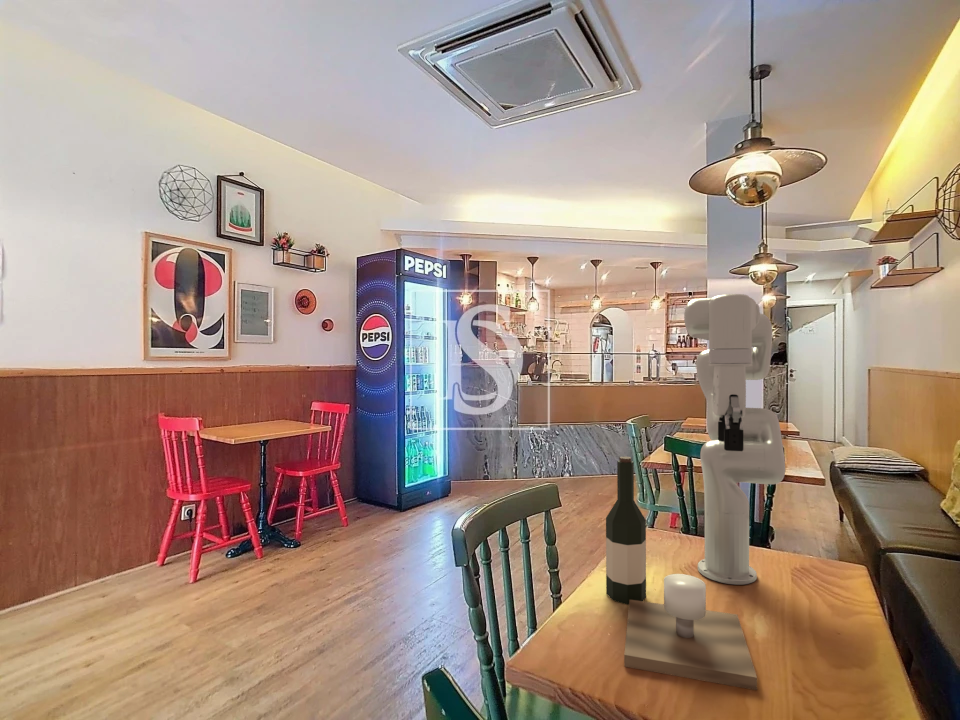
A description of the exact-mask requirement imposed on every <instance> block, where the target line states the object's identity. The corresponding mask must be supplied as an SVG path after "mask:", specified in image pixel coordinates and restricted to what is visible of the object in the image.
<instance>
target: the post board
mask: <svg viewBox="0 0 960 720" xmlns="http://www.w3.org/2000/svg"><path fill="white" fill-rule="evenodd" d="M626 623H627V624H626V632H625V633H626V634H625V643H624V654H623V655H624V657H623V658H624V659H623V662H624V663H623V665H624V666H623V667H626V668H629V669H630V668H632V669H637V670H641V671H642V670H643V671H646V672H647V671H648V672H653V673H660V674H665V675H669V676H674V677H681V678H685V679H686V678H687V679H693V680H696V681H697V680H698V681H704V682H709V683H714V684H720V685H726V686H732V687H738V688H743V689H747V690H748V689H749V690H754V691H757V690H758V677H757V672H756V669H755V667H754V663H753V661H752V657H751V654H750V650H749V647H748V644H747V641H746V638H745V635H744V631H743V629H742V628H743V627H742V624H741V621H740V618H739V615H738V614H736V613H731V612H730V613H729V612H722V611H714V610H708V609H706V615H705V616H704V617H703V618H701V619H698V620H686V619H681V618H677V617H675V616H672V615H671V614H669V613H668V612H667V611H666V610H665V609H664V603H657V602H651V601H650V602H649V601H645V600H643V601H637V600H629V604H628V613H627V622H626Z"/></svg>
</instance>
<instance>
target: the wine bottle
mask: <svg viewBox="0 0 960 720" xmlns="http://www.w3.org/2000/svg"><path fill="white" fill-rule="evenodd" d="M634 463H635V462H634V461H633V460H632V457H630V456H620V457H619V459H618V460H617V468H616V469H617V471H616V473H617V475H616V477H617V479H616V481H617V482H616V483H617V484H616V486H617V495H616V496H617V500H616V501H615V503H614V504H613V506H612V508H611V509H610V511H609V512H608V514H607V516H606V517H605V559H606V560H605V561H606V562H605V579H606V580H605V586H606V589H605V591H606V592H605V593H606V595H607V596H608V597H609V598H610V599H611V600H612V601H613V602H617V603H621V604H625V605H628V606H629V600H637V601H645V599H646V597H647V525H646V524H647V519H646V518H645V517H644V514H643V512H642V511H641V509H640V508H639V506H638V505H637V503H636V502H635V498H634V496H635V492H634V491H635V485H634V483H635V482H634V481H635V477H634V474H635V465H634Z"/></svg>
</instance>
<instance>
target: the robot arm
mask: <svg viewBox="0 0 960 720" xmlns="http://www.w3.org/2000/svg"><path fill="white" fill-rule="evenodd" d="M760 311H761V310H760V306H759V304H758V303H757V302H756V301H755V299H753V297H750V296H749V295H747V294H741V293H729V294H727V293H726V294H719V295H715V296H713V297H704V298H703V297H700V298H694V299H691V300H689V301H688V302H687V304H686V306H685V309H684V311H683V312H684V313H683V315H684V317H683V319H684V320H683V321H684V325H685V329H686V333H687V334H688V335H689V336H690V337H691V338H694V339H699V340H706V341H708V349H706V350H703V351H701V352H700V353H699V354H698V355H697V358H696V364H695V366H696V367H695V368H696V375H697V380H698V384H699V386H700V389H701V391H702V393H703V395H704V398H705V399H706V428H707V429H706V430H707V434H708V437H709V439H710V440H708V441H706V442H705V443H704V444H703V445H702V446H701V448H700V456H699V457H700V464H701V471H702V478H703V489H704V491H703V492H704V558H703V559H701V560H700V561H699V562H698V563H697V571H698V572H699V573H700V574H701V575H702V576H703V577H706V578H707V579H709V580H712V581H715V582H717V583H722V584H728V585H737V586H739V585H740V586H742V585H749V584H752V583H754V582H756V580H757V577H758V574H757V571H756V570H755V569H754V568H753V567H752V566H750V502H749V499H748V497H747V494H746V493H745V492H744V491H743V490H742V489H741V487H739V485H738V484H737V483H748V484H759V485H760V484H761V485H776V484H780V483H781V482H782V481H783V480H784V478H785V475H786V458H785V454H784V445H783V438H782V432H781V425H780V421H779V418H778V416H777V414H776V413H775V412H774V411H773V410H772V409H768V408H761V407H746V405H747V402H746V401H747V395H746V394H747V388H746V387H747V386H746V384H747V382H746V381H758V380H759V381H760V380H764V379H765V378H766V377H767V376H768V375H769V373H770V368H771V358H772V357H771V355H772V347H773V325H772V323H771V320H770V318H769V317H768V316H767V315H766V314H764V313H761V312H760Z"/></svg>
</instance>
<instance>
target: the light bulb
mask: <svg viewBox="0 0 960 720" xmlns="http://www.w3.org/2000/svg"><path fill="white" fill-rule="evenodd" d="M706 585H707V584H706V582H704V581H703V580H702V579H701V578H699V577H697V576H694V575H690V574H683V573H672V574H668V575H666V576H665V577H664V578H663V604H664V609H665V610H666V611H667V612H668V613H669V614H671V615H672V616H675V617H677V618H681V619H686V620H698V619H701V618H703V617H704V616H705V615H706V610H707V608H706V607H707V605H706V604H707V598H706V596H707V595H706V594H707V593H706V592H707V590H706V589H707V588H706V587H707V586H706Z"/></svg>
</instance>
